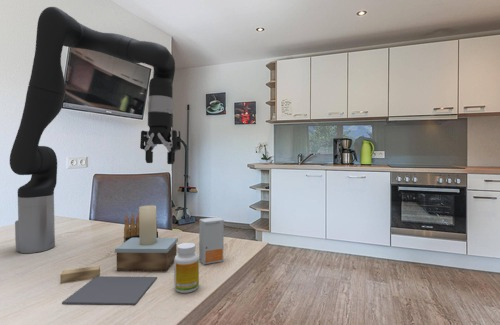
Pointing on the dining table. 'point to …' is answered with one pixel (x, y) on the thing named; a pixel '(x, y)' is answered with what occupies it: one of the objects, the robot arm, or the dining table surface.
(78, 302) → the mat
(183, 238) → the dining table surface
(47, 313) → the dining table surface
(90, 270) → the wooden block
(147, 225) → the lid
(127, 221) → the ammunition clip
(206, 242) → the skincare box
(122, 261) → the wooden box
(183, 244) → the supplement bottle
